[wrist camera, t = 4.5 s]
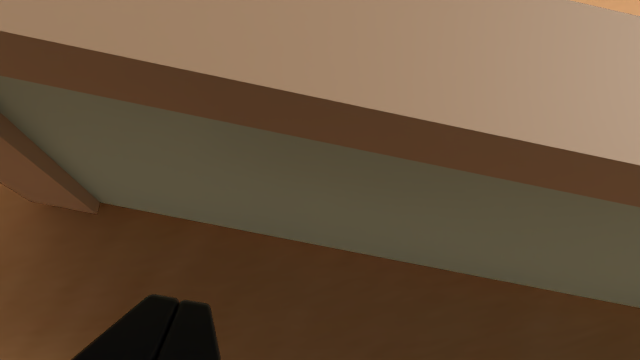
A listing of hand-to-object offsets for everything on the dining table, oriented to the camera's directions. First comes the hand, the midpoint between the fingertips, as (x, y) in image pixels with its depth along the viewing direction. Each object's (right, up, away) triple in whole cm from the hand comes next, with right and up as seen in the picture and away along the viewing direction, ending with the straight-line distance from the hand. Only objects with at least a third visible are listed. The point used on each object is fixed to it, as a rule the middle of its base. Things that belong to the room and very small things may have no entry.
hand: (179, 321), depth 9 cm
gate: (+5, 0, +7) cm, 9 cm away
